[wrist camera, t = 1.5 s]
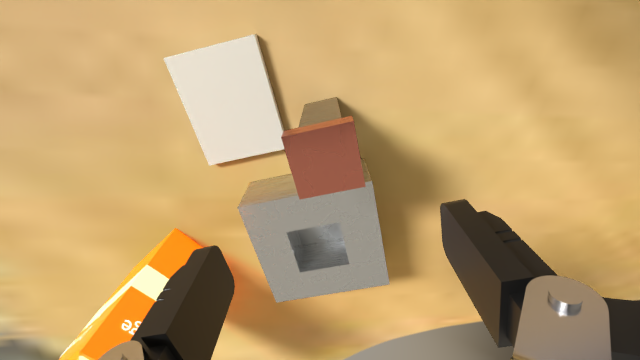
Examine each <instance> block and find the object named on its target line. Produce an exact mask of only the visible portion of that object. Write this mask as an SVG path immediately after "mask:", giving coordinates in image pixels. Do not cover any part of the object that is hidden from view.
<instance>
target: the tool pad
mask: <svg viewBox="0 0 640 360" xmlns="http://www.w3.org/2000/svg"><path fill="white" fill-rule="evenodd" d="M164 61H165V63H166V65H167V68H168V70H169V72H170V75H171V77H172V79H173V82H174V84H175V86H176V89H177V91H178V93H179V96H180V98H181V100H182V103H183V105H184V107H185V110H186V112H187V114H188V117H189V119H190V121H191V124H192V126H193V129H194V131H195V133H196V136H197V138H198V140H199V143H200V145H201V147H202V150H203V152H204V154H205V157H206V159H207V161H208V164H209V165H214V164H218V163H223V162H227V161H232V160H237V159H241V158H246V157H251V156H255V155H260V154H264V153H269V152H274V151H278V150H283V149H284V145H283V142H282V139H281V136H282V134H283V131H284V128H283V124H282V121H281V118H280V114H279V111H278V107H277V104H276V100H275V97H274V93H273V90H272V86H271V83H270V80H269V76H268V73H267V69H266V66H265V62H264V59H263V55H262V52H261V49H260V45H259V42H258V38H257V35H256V34H254V35H250V36H246V37H242V38H238V39H235V40H231V41H227V42H223V43H219V44H215V45H212V46H208V47H204V48H200V49H196V50H193V51H189V52H185V53H181V54H177V55H174V56H170V57H166V58H164Z"/></svg>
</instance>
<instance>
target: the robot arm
mask: <svg viewBox="0 0 640 360" xmlns="http://www.w3.org/2000/svg"><path fill="white" fill-rule="evenodd" d="M440 213H441V228H442V242H443V247H444V250H445V253H446V256H447V258H448V260H449V262H450V263H451V265H452V267H453V269H454V271H455V272H456V274H457V276H458V278H459V279H460V281H461V283H462V285H463V286H464V288H465V290H466V292H467V293H468V295H469V297H470V299H471V301H472V302H473V304H474V306H475V308H476V309H477V311H478V313H479V315H480V316H481V318H482V320H483V322H484V323H485V325H486V327H487V329H488V331H489V332H490V334H491V336H492V338H493V339H494V341H495V343H496V344H497V346H498V347H506V346H513V347H514V352H513V357H512V358H510V360H640V301H631V300H620V299H611V298H604V297H601V296H600V295H599V294H598V293H597V292H596V291H594V290H593V289H592V288H590V287H588V286H587V285H585V284H583V283H581V282H579V281H576V280H573V279H570V278H567V277H562V276H558V275H557V274H556V273H555V272H554V271H553V270H552V269H551V268H550V267H549V266H548V265H547V264H546V263H545V262H544V261H543V260H542V259H541V258H540V257H539V256H538V255H537V254H536V253H535V252H534V251H533V250H532V249H531V248H530V247H529V246H528V245H527V244H526V243H525V242H524V241H523V240H522V241H521V238H520V237H519V236H518V235H517V234H516V233H515V232H514V231H512V229H511V228H510V227H509V226H508V225H507V224H506V223H505V222H504V221H503V220H502V219H501V218H499V217H497V216H495V215H493V214H491V213H489V212H487V211H482V212H477V211H476V210H475V209H474V208H473V207H472V206H471V205H470V204H469V202H468V201H467V200H465V199H463V200H458V201H452V202H447V203H442V204H441V206H440ZM234 287H235V286H234V279H233V276H232V273H231V271H230V269H229V267H228V265H227V263H226V261H225V259H224V257H223V254H222V252H221V250H220V249H219V247H218V246H210V247H204V248H199V249H195V250H194V251H193V252H192V254H191V255H190V257H189V258H188V260H187V262H186V263H185V265H183V266H181V267H180V268H179V269H178V270H177V271H176V272H175V273H174V274H173V275H172V276H171V277H170V279H169V280H168V282H167V283H166V285H165V286H164V288H163V291H162V292H161V293H160V294H159V296H158V297H157V299H156V302H154V304H153V305H152V307H151V308H150V310H149V311H148V313H147V315H146V316H145V318H144V319H143V321H142V322H141V324H140V326H139V327H138V329H137V330H136V332H135V333H134V335H133V336H132V338H131V340H130V341H126V342H123V343H121V344H118V345H116V346H115V347H113V348H111V349H110V350H108V351H107V352H106V353H105V354H103V355H102V356H101V357H100V358H99V359H98V360H211V357H212V354H213V351H214V348H215V346H216V343H217V340H218V337H219V334H220V331H221V328H222V326H223V323H224V320H225V317H226V314H227V311H228V308H229V306H230V303H231V300H232V297H233V294H234Z"/></svg>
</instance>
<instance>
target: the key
mask: <svg viewBox="0 0 640 360" xmlns="http://www.w3.org/2000/svg"><path fill="white" fill-rule="evenodd" d="M281 139H282V142H283V145H284V149H285V152H286V156H287V159H288V162H289V166H290V169H291V172H292V176H293V179H294V182H295V186H296V189H297V192H298V196H299V199H305V198H311V197H316V196H321V195H326V194H331V193H336V192H341V191H346V190H351V189H356V188H361V187H366V186H365V180H364V175H363V169H362V164H361V158H360V153H359V147H358V142H357V136H356V131H355V125H354V120H353V118H352V116H349V117H344V118H341V114H340V109H339V105H338V101H337V97H335V98H331V99H326V100H322V101H318V102H313V103H309V104H305V105H304V109H303V113H302V116H301V120H300V124H299V128H295V129H290V130H286V131H283V134H282V136H281Z"/></svg>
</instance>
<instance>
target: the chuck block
mask: <svg viewBox="0 0 640 360" xmlns="http://www.w3.org/2000/svg"><path fill="white" fill-rule="evenodd" d="M361 164H362V169H363V175H364V180H365V186H366V187H361V188H356V189H351V190H346V191H341V192H336V193H331V194H326V195H321V196H316V197H311V198H305V199H299V196H298V192H297V189H296V186H295V182H294V179H293V176H292V174H289V175H284V176H279V177H274V178H269V179H265V180H260V181H255V182H250V184H249V186H248V188H247V190H246V192H245V194H244V196H243V198H242V200H241V202H240V204H239V206H238V210H239V212H240V215H241V217H242V220H243V222H244V225H245V227H246V230H247V232H248V234H249V237H250V239H251V242H252V244H253V247H254V249H255V252H256V254H257V256H258V259H259V261H260V264H261V266H262V269H263V271H264V274H265V276H266V278H267V281H268V283H269V286H270V288H271V291H272V293H273V296H274V298H275V300H276V303H277V302H283V301H289V300H295V299H301V298H308V297H314V296H320V295H326V294H332V293H339V292H345V291H351V290H357V289H363V288H370V287H376V286H382V285H388V284H389V278H388V272H387V266H386V260H385V254H384V248H383V242H382V236H381V231H380V225H379V219H378V213H377V207H376V201H375V195H374V189H373V183H372V179H371V176H370V173H369V170H368V168H367V165H366V162H365V159H361Z"/></svg>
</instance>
